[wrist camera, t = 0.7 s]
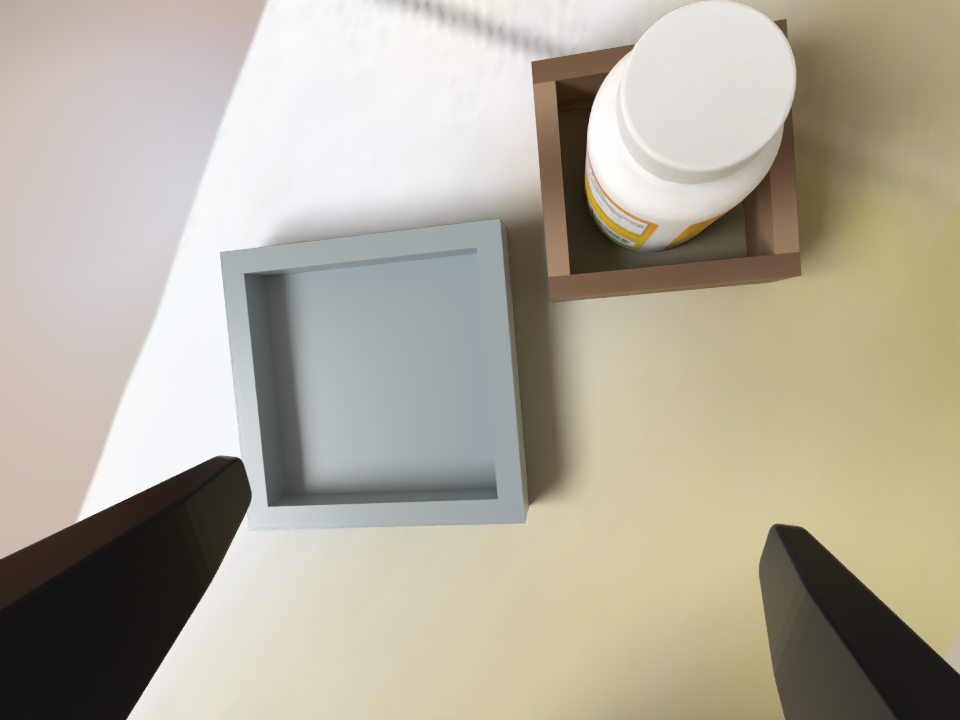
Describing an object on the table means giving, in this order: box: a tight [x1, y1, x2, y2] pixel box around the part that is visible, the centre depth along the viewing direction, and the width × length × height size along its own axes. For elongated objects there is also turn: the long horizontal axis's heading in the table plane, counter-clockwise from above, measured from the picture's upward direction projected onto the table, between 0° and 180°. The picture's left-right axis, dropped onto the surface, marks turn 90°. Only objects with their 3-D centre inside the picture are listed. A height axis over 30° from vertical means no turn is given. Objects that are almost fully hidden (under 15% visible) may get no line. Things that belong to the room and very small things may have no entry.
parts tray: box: [220, 219, 529, 530], centre depth 24 cm, size 12×12×2 cm
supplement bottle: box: [584, 0, 797, 252], centre depth 18 cm, size 5×5×10 cm
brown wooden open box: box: [531, 19, 801, 302], centre depth 21 cm, size 9×9×3 cm
